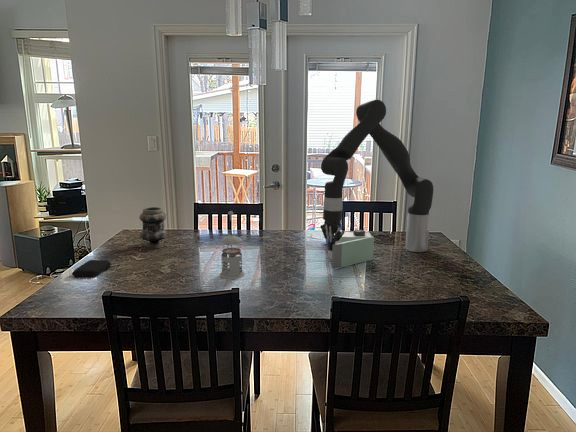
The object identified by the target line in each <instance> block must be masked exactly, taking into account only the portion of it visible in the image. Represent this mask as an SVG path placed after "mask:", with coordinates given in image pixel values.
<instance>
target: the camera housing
mask: <svg viewBox="0 0 576 432" xmlns="http://www.w3.org/2000/svg"><path fill="white" fill-rule="evenodd" d="M372 236H373V235H372V234H371V233H370V232H368V231H365V230H362V229H355V230H353V231H344V234H343V236H342V237H341V238H340V240H339V241H336V242H335V244H337V243H342V242H347V241H352V240H357V239H362V238H367V237H372ZM327 256H328V259H329V260H332V251H330V250H328V249H327Z"/></svg>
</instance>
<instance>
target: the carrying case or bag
mask: <svg viewBox="0 0 576 432" xmlns="http://www.w3.org/2000/svg"><path fill="white" fill-rule="evenodd" d="M111 267H112V263H111V262H110V261H109V260H108V259H107V260H106V259H105V260H104V259H90V260H88V261H86V262H85V263H83V264H82V265H80V266H79V267H77V268H75V269H74V270H73V271H72V273H71V275H72V277H74V278H83V279H84V278H86V279H87V278H92V279H93V278H96V277H98V276H99V275H100V274H102V273H103V272H104V271H106V270H107V269H108V268H110V269H111Z"/></svg>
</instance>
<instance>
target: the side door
mask: <svg viewBox="0 0 576 432" xmlns="http://www.w3.org/2000/svg"><path fill="white" fill-rule="evenodd" d="M371 236H372V237H367V238H362V239H357V240H352V241H347V242H342V243H337V244H333V251H332V259H331V269H332V270H336V269H340V268H344V267H348V266H351V265H355V264H356V265H357V264H360V263H363V262H369V261H372V260H374V247H375V236H373V235H371Z"/></svg>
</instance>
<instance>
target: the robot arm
mask: <svg viewBox="0 0 576 432" xmlns="http://www.w3.org/2000/svg"><path fill="white" fill-rule="evenodd" d="M355 113H356V114H355V115H356V118H357V120H358V123H357V125H355V126H354V127H353V128H352V129H351V130H349V131H348V132H347V134H345V136H344V137H343V138H342V139H341V141H340V142H339V144H338V145H337V146H336V147H335V148H334V149H333V150H332V151H330V152H329V153H327V155H326V156H324V158H323V159H322V161H321V164H320V169H321V172H322V173H323V174H325V175H327V176H333V177H334V178H333V180H332V181H331V180H330V181H327V182H325V185H324V195H323V197H324V198H323V205H322V206H323V207H322V220H323V221H324V222H323V224H321V225H320V229H321V231H322V234H323V237H324V239H325V240H326V239H327V241H328V245H327V251H328V250H330V251H333V244H335V242H336V241H339V240H340V238H341V237H342V236H343V234H344V232H345V231H344V230H343V229H342V230H341V229H340V227H341V226H340V221H341V222H342V220H343V202H344V201H343V192H344V191H343V189H344V184H345V180H346V177H347V175H348V172H349V163H348V162H347V161H349V160H351V159H352V158H353V156H354V155H355V154H356V152H357V150H358V149H359V147H360V146H361V144H362V143H363V142H364V140H365V139H366V138H367V137H368V136H369V135H370V137H371V138H372V140H373V142H375V144H376V146H378V148H379V149H380V151H381V152H382V154H383V156H384V158H385V159H386V160H387V162H388V164H390V166H391V167H392V168H393V170H394V172H395V173H396V174H397V176H398V178H399V179H400V182H401V183H402V185H403V187H404V189H405V192H406V193H407V194H408V195H409V196H410V197H412V198H414V200H413V204H411V205H409V206H408V207H407V219H406V232H405V233H406V235H405V247H404V248H405V250H406V251H409V252H412V253H423V252H428V246H429V235H430V233H429V232H430V231H429V230H428V228H429V218H430V210H431V208H432V205H433V198H434V184H433V182H432V181H431V180H430V179H429V178H428V179H427V178H423V177H420V176H418V174H417V172H415V170H414V169H413V167H412V165H411V158H410V154H409V151H408V149H407V148H406V146H405V144H404V143H403V141H402V140H401V139H400V138H399V137H397V135H394V134H393V133H391V132H390V131H389V130H387V129H385V128H384V127H383V126H382V125H381V122H382V121H383V120H384V119H385V117H386V114H387V107H386V104H385V102H384V101H382V100H381V99H373V100H369V101H366V102H364V103H363V102H362V103H360V104H359V105H358V106H357V107H356V110H355Z"/></svg>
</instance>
